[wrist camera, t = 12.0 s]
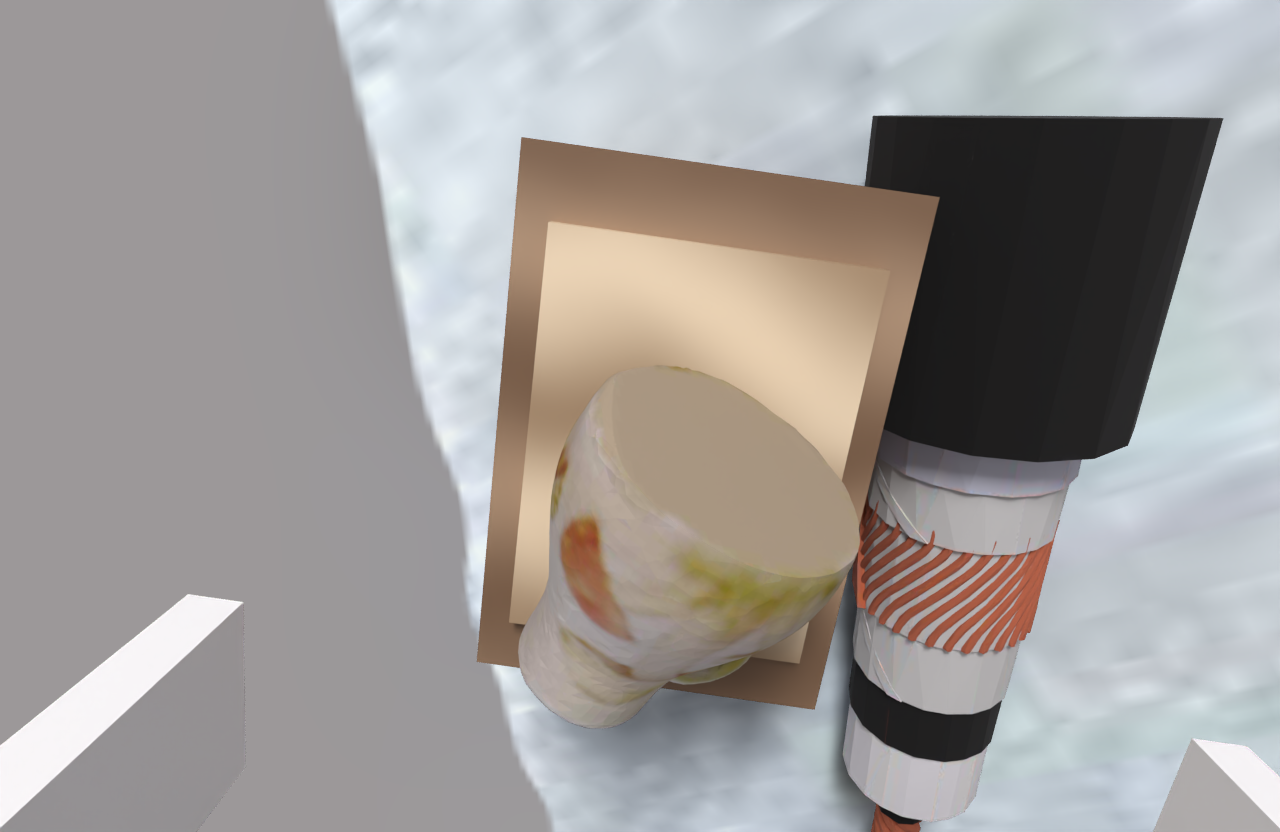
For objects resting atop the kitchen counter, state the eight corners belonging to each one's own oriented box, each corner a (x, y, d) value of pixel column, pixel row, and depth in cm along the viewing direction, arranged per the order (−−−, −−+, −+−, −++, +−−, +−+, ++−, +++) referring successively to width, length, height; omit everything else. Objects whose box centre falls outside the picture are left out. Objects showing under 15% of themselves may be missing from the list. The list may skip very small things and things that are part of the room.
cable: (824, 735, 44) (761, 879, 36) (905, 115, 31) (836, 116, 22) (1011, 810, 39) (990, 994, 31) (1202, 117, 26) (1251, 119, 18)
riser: (767, 542, 35) (818, 722, 23) (539, 510, 35) (472, 673, 23) (838, 197, 31) (948, 197, 19) (576, 159, 31) (516, 135, 19)
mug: (468, 624, 23) (359, 645, 13) (653, 384, 25) (675, 251, 15) (662, 778, 22) (696, 921, 12) (837, 516, 24) (985, 464, 14)
